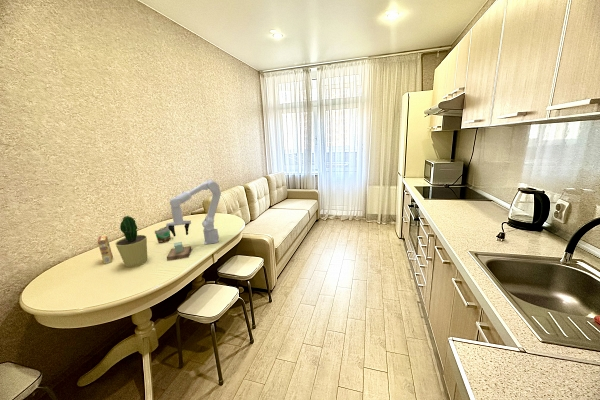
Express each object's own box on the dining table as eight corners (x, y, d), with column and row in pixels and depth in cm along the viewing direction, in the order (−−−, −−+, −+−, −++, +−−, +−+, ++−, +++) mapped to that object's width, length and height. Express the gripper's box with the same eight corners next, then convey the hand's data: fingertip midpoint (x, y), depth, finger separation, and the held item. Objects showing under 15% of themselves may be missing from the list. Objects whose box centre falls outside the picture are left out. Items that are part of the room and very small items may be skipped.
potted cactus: (124, 259, 149) (113, 214, 141) (153, 254, 155) (143, 210, 147) (117, 271, 135) (104, 221, 128) (149, 265, 141) (138, 216, 133)
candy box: (112, 262, 147) (106, 239, 143) (103, 264, 144) (97, 240, 141) (113, 256, 154) (107, 234, 150) (104, 258, 152) (98, 236, 148)
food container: (164, 244, 170) (161, 231, 167) (156, 243, 171) (154, 230, 168) (176, 237, 181) (173, 224, 179) (169, 237, 183) (166, 224, 180)
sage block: (183, 248, 155) (181, 241, 154) (183, 251, 151) (182, 244, 150) (175, 250, 153) (174, 243, 152) (175, 253, 149) (174, 246, 148)
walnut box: (191, 250, 160) (191, 245, 159) (188, 258, 148) (187, 253, 148) (172, 253, 157) (171, 248, 156) (167, 261, 145) (166, 257, 145)
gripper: (190, 212, 162) (193, 231, 165) (167, 215, 158) (170, 234, 162) (188, 215, 155) (191, 235, 158) (163, 218, 151) (167, 238, 155)
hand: (181, 235), depth 159 cm, fingers open, 7 cm apart
